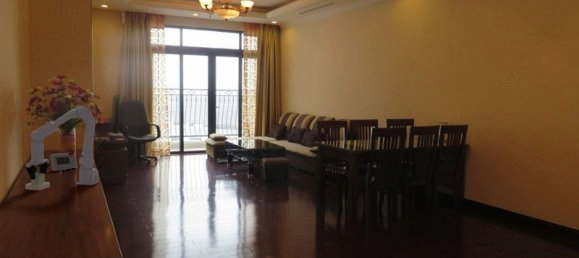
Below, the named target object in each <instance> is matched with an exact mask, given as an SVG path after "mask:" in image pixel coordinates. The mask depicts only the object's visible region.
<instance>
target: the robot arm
mask: <svg viewBox="0 0 579 258" xmlns="http://www.w3.org/2000/svg"><path fill="white" fill-rule="evenodd" d="M78 118H80V119H81V120H82V121H83V122H84V123H85V127H84V128H85V129H84V136H83V137H84V138H83V144H82V145H83V146H82V151H81V155H80V157H79V158H78V163H79V165H80V166H79V170H78V171H79V174H78V175H79V177H78V178H79V180H78V181H79V182H76V183H75V185H82V186H93V185H96V184H99V183H100V181H99V170H98V169H97V168H95V167H94V165H95V160H94V154H93V153H94V152H93V150H94V149H93V148H94V140H95V134H96V133H95V132H96V131H95V130H96V118H95V117H94V115H93V113H92V111H91V109H89V108H88V107H86V106H81V105H77V106H76V107H75V108H72V109H70V110H68V111H67V112H66V113H64V114H63V115H61V116H60V117H58V118H57V119H56V120H54V121H46V122H45V123H44V124H43V125H42V126H40V127H37V128H36V130H33V131H32V132H30V135H29V137H30V139H31V144H30V149H31V150H30V152H31V153H30V155H31V156H30V158H31V159H30V160H29V161H28V162H26V163H25V166H24V167H25V168H24V169H25V170H26V171H27V173H28V176H29V178H30V181H31V180H35V175H36V173H37V169H38V168H39V173H43V174H45V176H46V174H47V171H48V168H49V167H50V166H51V162H50V161H49V160H50V158H49V159H48V158H45V154H44V153H45V150H44V149H45V147H44V140H45V138H46V137H48V136H50V135H51V134H53V133H55V132H56V131H58V127H59V126H61V125H63V124H65V123H66V122H68V121H69V120H71V119H78ZM37 166H38V167H37Z"/></svg>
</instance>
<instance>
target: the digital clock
mask: <svg viewBox="0 0 579 258" xmlns="http://www.w3.org/2000/svg"><path fill="white" fill-rule="evenodd" d="M68 153H69V152H63V153H62V152H61V153H53V154H50V155H49V160H50V166H51V170H52V172H61V170H63V171H68V170H67V169H71V168H75V170H76V169H78V163H77V157H76V153H75V152H74V157H70V156H69V154H68ZM71 170H72V169H71Z"/></svg>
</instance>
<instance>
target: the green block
mask: <svg viewBox="0 0 579 258" xmlns="http://www.w3.org/2000/svg"><path fill="white" fill-rule="evenodd" d="M45 182H46V175H45V174H43V173H40V172H36V175H35V180H31V179H30V183H31V184H38V185H39V184H42V183H45Z"/></svg>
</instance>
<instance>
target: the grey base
mask: <svg viewBox="0 0 579 258" xmlns="http://www.w3.org/2000/svg"><path fill="white" fill-rule="evenodd" d="M50 187H51V182H50V181H45V183H42V184H39V185H38V184H31V182H29V183H26V184H25V190H30V191H43V190H45V189H48V188H50Z"/></svg>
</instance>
